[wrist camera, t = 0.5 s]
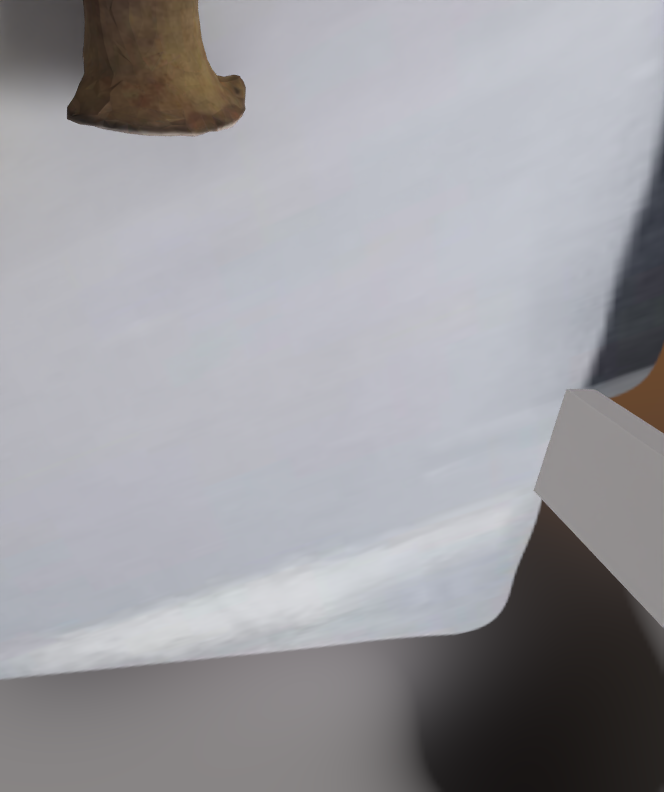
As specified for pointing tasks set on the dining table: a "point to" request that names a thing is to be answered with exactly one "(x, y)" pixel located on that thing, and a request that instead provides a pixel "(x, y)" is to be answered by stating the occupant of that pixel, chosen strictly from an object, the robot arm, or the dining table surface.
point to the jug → (151, 72)
